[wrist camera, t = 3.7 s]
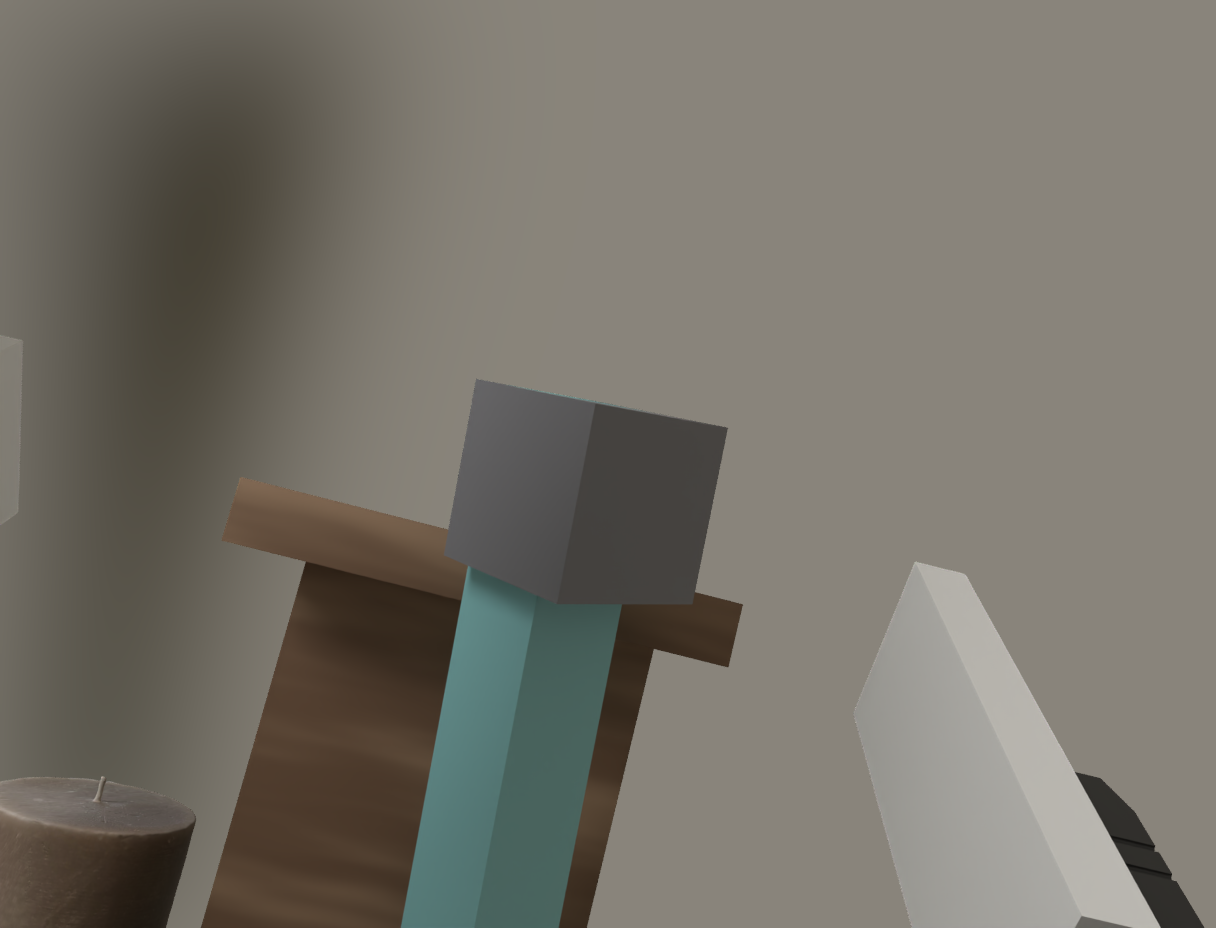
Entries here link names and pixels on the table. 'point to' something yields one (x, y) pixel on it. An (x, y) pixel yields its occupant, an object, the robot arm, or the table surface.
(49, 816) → the pillar candle
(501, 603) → the hammer
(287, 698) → the shelf stand
